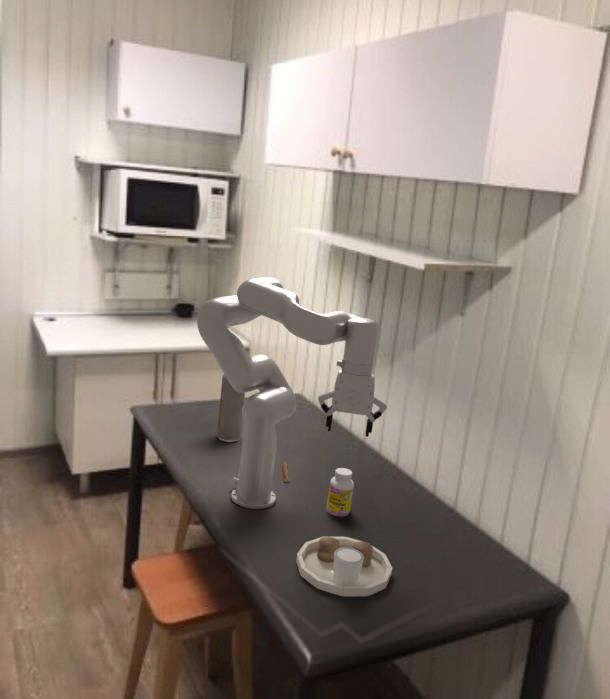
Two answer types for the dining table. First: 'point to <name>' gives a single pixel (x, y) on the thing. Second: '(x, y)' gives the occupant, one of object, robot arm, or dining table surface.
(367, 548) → the bead
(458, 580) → the dining table surface
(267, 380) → the robot arm
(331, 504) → the supplement bottle
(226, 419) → the thermos bottle
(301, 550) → the tray
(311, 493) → the dining table surface
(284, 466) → the chocolate bar
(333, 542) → the bead
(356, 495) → the dining table surface
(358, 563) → the white rimmed cylinder
